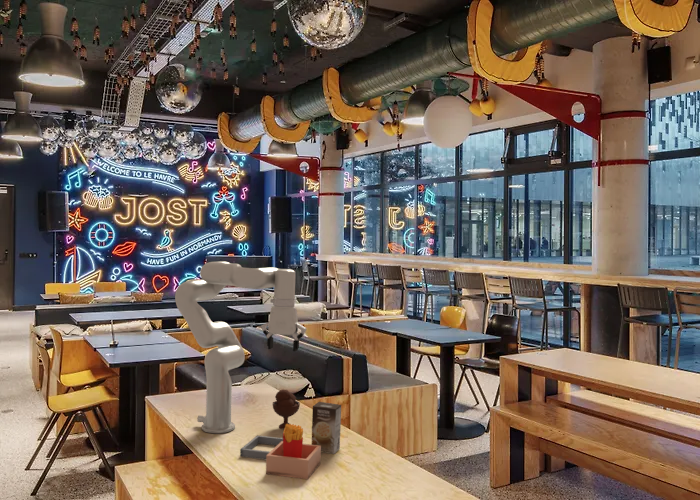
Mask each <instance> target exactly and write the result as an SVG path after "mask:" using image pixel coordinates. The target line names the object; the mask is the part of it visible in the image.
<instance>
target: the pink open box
mask: <svg viewBox="0 0 700 500" xmlns="http://www.w3.org/2000/svg"><path fill="white" fill-rule="evenodd" d="M321 457H322V452H321V446H320V445H312V443H311V444H310V443H303V445H302V458H294V457H286V456H283V441H281V442H280V443H279V444H278V445H275V447H274V448H272V450H271V451H269V453H268V454H267V455H266V461H265V462H266V463H265V475H273V476H279V477H280V476H281V477H288V478H294V479H301V480H302V479H303V480H309V478H310V477H311V476H312V474H313V473H314V472H315V471H316V469H318V467H319V466H320V465H321V463H322V462H321V461H322V460H321V459H322V458H321Z"/></svg>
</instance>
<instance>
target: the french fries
mask: <svg viewBox="0 0 700 500" xmlns="http://www.w3.org/2000/svg"><path fill="white" fill-rule="evenodd" d="M303 434H304V428H302V426H301V425H296V424H294V423H293V424H292V423H290V424H286V425H285V428H284V429H283V433H282V438H283V456H286V457H294V458H302V445H303V444H304V443H303V442H304V437H303Z"/></svg>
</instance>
